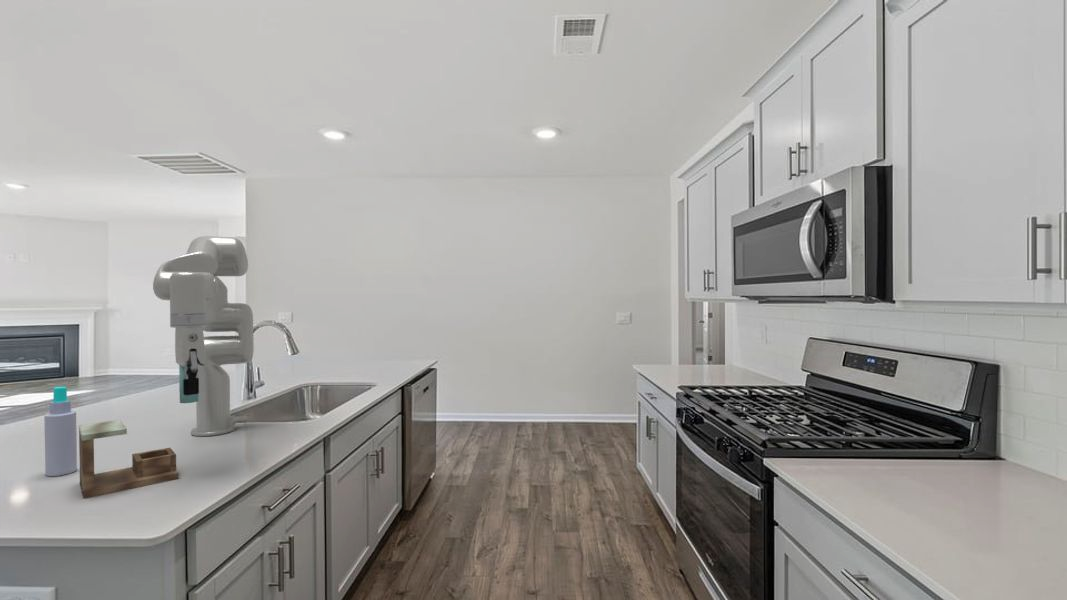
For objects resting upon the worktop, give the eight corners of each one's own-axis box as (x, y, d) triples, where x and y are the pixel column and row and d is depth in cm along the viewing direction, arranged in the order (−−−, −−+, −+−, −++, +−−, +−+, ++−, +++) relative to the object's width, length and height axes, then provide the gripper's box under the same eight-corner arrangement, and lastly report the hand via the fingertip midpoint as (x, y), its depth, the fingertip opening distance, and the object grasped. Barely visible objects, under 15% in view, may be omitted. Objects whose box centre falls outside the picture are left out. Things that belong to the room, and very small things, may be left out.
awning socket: (168, 465, 140) (168, 413, 140) (178, 478, 131) (177, 422, 130) (79, 482, 128) (78, 425, 127) (83, 498, 118) (82, 435, 118)
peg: (196, 399, 135) (196, 360, 135) (200, 401, 133) (199, 362, 132) (178, 401, 133) (177, 362, 132) (181, 404, 130) (180, 363, 130)
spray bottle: (51, 470, 136) (50, 386, 136) (80, 467, 139) (79, 384, 138) (40, 478, 131) (39, 390, 130) (71, 475, 133) (70, 388, 133)
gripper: (213, 321, 129) (214, 396, 129) (197, 318, 141) (198, 386, 141) (177, 323, 124) (178, 400, 124) (164, 320, 136) (165, 390, 136)
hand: (189, 392), depth 133 cm, fingers closed on peg, 4 cm apart
